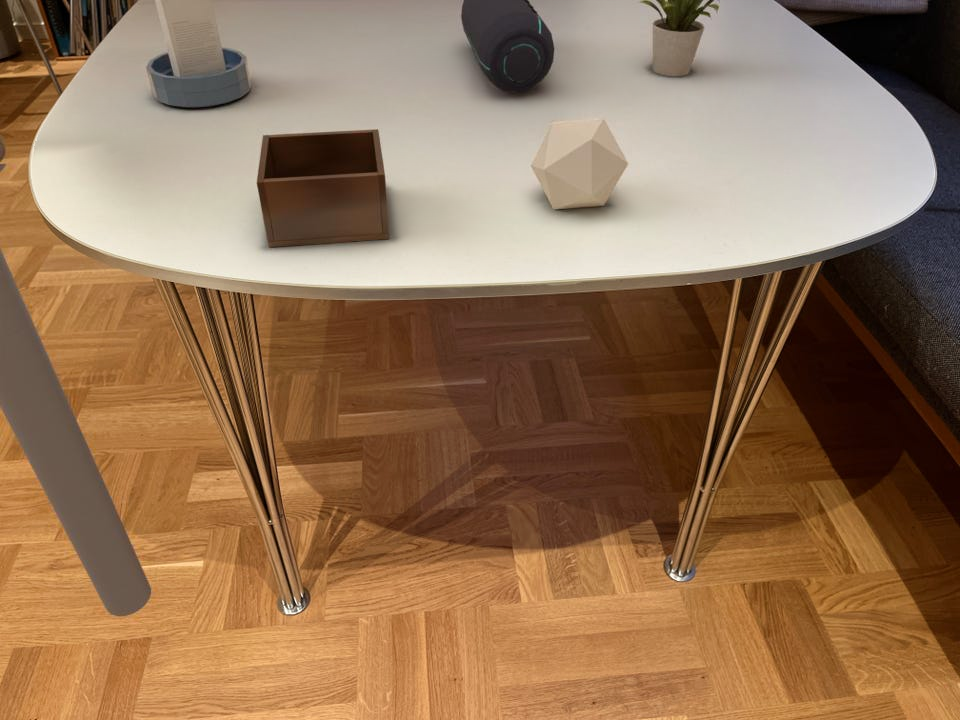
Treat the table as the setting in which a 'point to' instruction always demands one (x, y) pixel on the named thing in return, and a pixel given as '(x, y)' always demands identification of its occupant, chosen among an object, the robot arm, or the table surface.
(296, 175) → the holder
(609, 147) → the die
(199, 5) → the cosmetic box
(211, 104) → the bowl
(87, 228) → the table surface
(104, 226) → the table surface
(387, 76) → the table surface
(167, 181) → the table surface
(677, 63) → the house plant
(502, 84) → the portable speaker
